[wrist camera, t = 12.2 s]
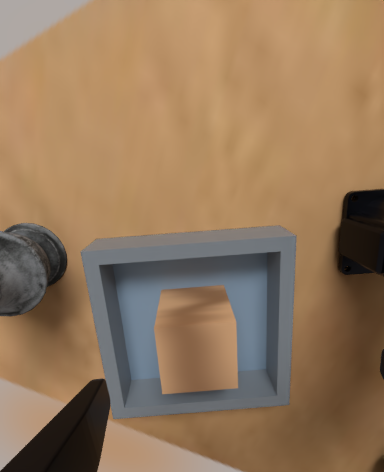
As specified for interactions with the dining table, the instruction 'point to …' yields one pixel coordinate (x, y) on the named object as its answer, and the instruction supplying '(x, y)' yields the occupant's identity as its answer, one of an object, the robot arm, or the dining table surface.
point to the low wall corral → (185, 276)
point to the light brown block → (196, 340)
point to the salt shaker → (28, 266)
